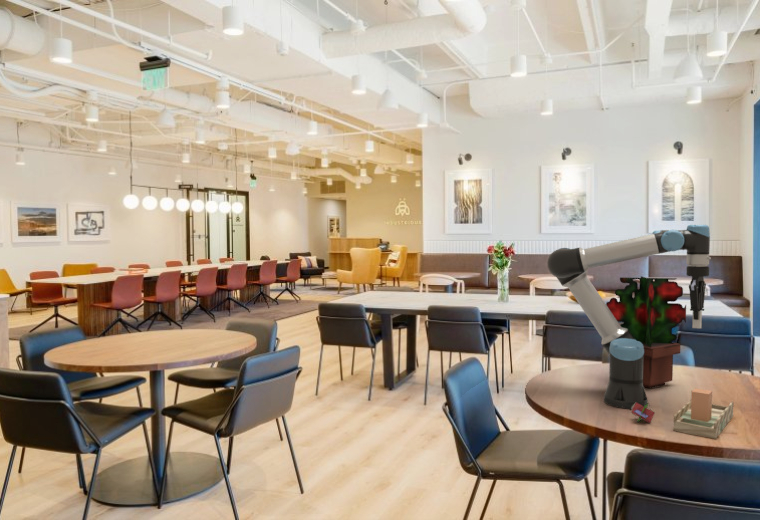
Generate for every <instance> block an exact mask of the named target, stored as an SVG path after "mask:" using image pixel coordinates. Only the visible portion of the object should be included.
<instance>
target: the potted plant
mask: <svg viewBox="0 0 760 520" xmlns="http://www.w3.org/2000/svg"><path fill="white" fill-rule="evenodd" d="M677 279H678V278H675V277H673V278H671V277H669V278H668V277H666V278H665V277H644V276H640V277H619V281H620V283H622V284H627V285H625V287H624V288H618V289H615V291H614V294H615V296H617V297H619V301H618V299H617V298H615V297H611V298H610V299H609V301H607V302H605V304H606V305H607V307H608V308H609V310H610V311H611V312H612V314H613V315H614V317H615V318H616V320H617V321H618V323H619V324H620V326H621V327H623V328H627V329H628V330H629V332H630V333H631V335H632V336H633V337H634V339H635V340H637V341H639V342H641V343H642V344H643V347H644V356H643V386H644V389H647V390H650V389H654V388H659V387H662V386H665V385H666V383H669V382H673V376H674V375H673V374H674V373H673V371H674V370H673V367H674V355H678V354H681V343H677V342H674V341H676V340H677V338H678V336H677V335H676V334H674V333H673V329H675V328H676V327H677V325H678V324H681V323H682V322H683V321H684V323H687V322H686V321H687V304H685V305H684V306H683V305H682V304H681V303H673V302H676V301H678V299H679V298H680V297H681V298H682V297H683V294H684V288H683V287H682V286H681V285H679V284H678V282H677V281H671V280H677ZM635 280H639V285H638V282H637V281H635ZM638 286H639V288H638ZM633 293H634V297H633ZM670 302H671V303H670Z"/></svg>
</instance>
